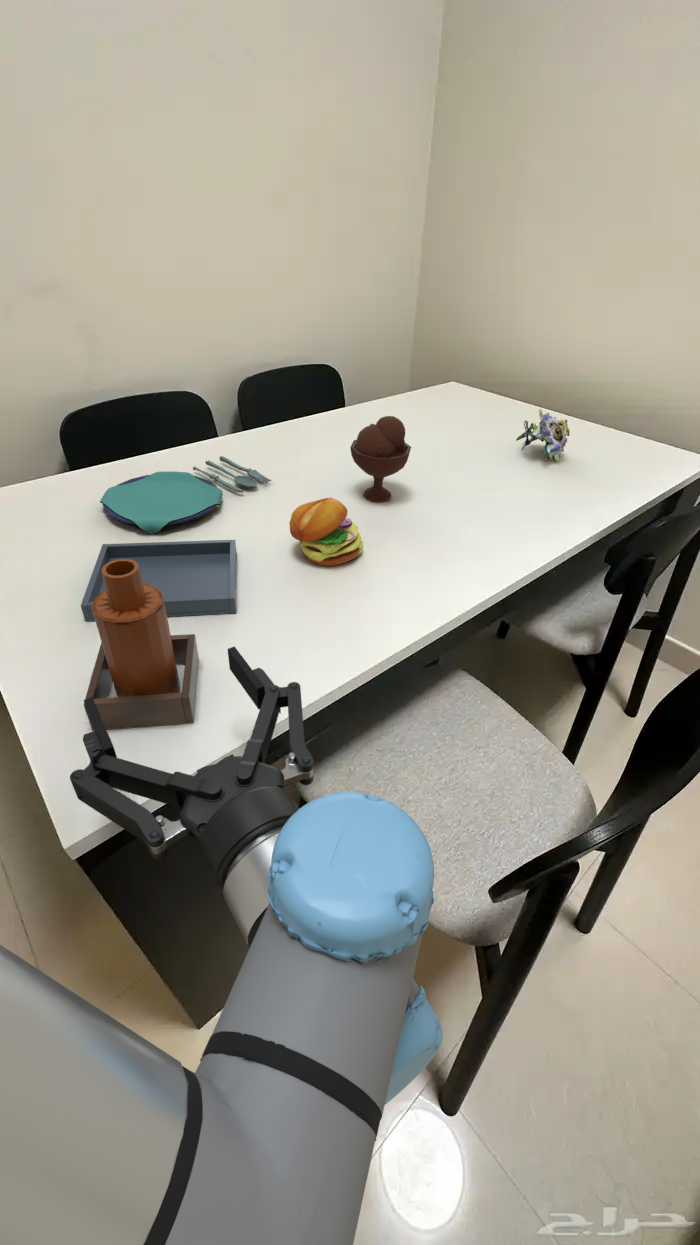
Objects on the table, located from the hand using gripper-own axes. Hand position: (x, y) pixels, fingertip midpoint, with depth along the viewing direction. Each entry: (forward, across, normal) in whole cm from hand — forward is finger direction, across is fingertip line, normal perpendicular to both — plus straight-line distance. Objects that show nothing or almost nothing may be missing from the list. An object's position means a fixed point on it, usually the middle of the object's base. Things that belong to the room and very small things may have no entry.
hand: (165, 681), depth 55 cm
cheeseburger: (+26, +34, -10) cm, 44 cm away
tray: (+29, +9, -10) cm, 32 cm away
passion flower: (+38, +97, -10) cm, 105 cm away
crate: (+9, 0, -10) cm, 13 cm away
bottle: (+9, 0, -10) cm, 13 cm away
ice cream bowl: (+39, +53, -10) cm, 66 cm away
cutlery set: (+54, +22, -10) cm, 59 cm away
